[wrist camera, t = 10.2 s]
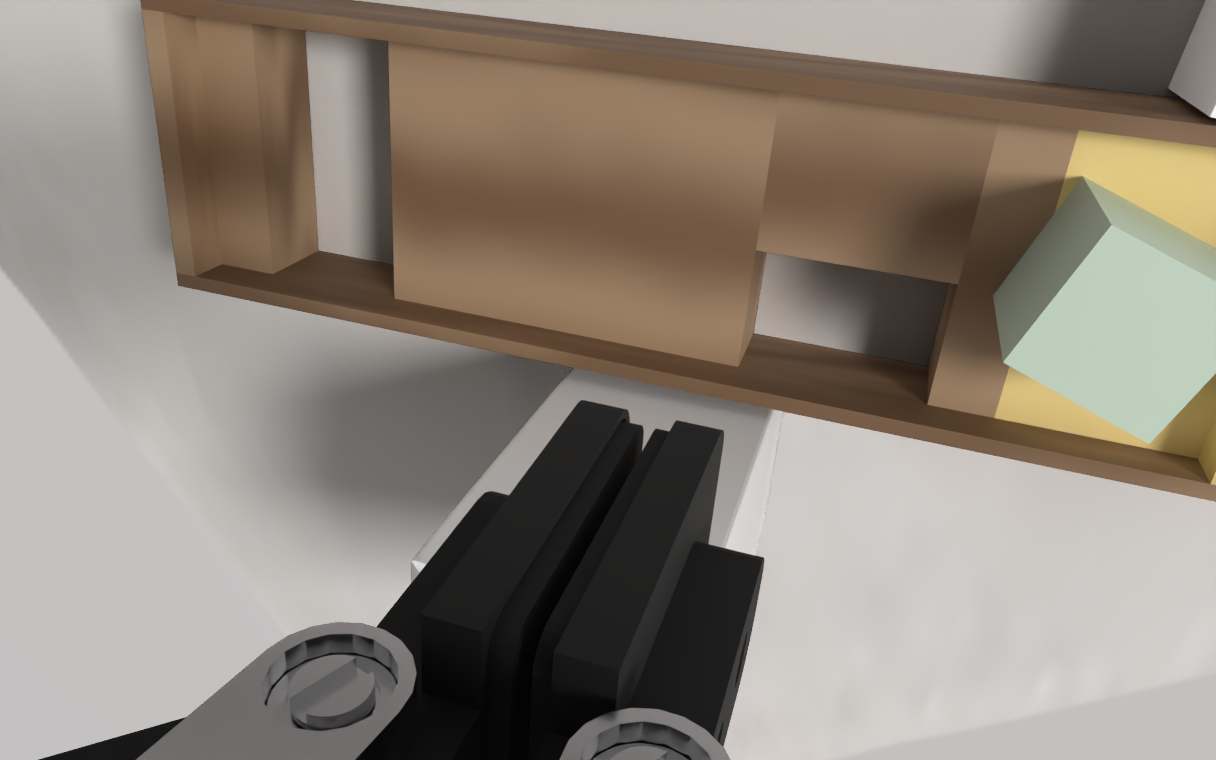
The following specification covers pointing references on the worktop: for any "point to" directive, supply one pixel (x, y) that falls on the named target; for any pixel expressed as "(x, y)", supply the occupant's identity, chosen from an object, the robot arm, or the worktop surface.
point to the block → (1112, 311)
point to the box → (673, 208)
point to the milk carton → (653, 408)
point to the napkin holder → (1199, 64)
